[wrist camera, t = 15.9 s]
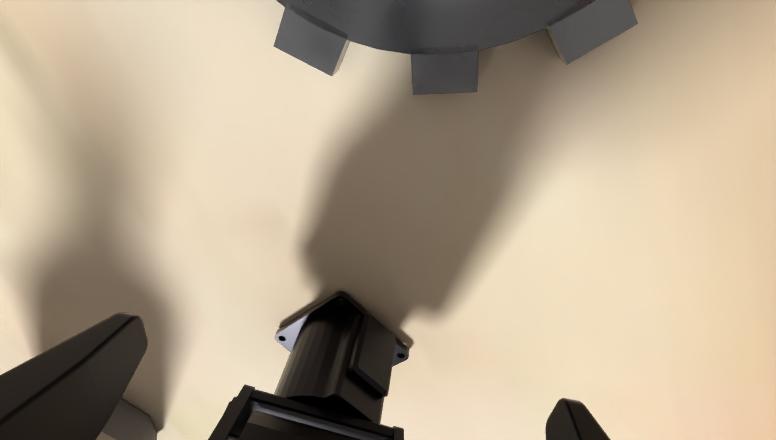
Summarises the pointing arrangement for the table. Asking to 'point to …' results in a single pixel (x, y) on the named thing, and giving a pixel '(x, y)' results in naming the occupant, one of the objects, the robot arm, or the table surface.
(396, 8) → the timing wheel
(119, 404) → the liquor
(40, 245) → the table surface
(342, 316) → the robot arm
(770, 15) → the table surface
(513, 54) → the table surface
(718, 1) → the table surface
